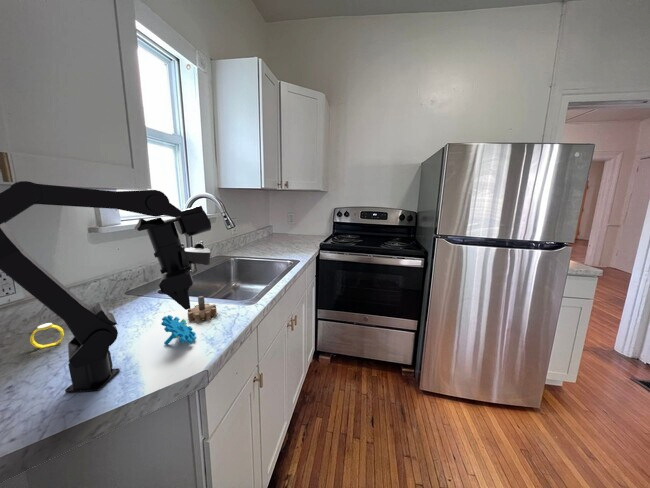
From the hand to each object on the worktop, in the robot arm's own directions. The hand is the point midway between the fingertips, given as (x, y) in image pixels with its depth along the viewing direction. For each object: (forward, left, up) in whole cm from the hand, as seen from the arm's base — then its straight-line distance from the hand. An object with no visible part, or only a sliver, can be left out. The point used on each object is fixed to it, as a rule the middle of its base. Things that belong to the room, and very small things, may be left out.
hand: (187, 301), depth 67 cm
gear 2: (+17, +4, -12) cm, 21 cm away
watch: (+3, +38, -12) cm, 40 cm away
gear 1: (+2, +4, -12) cm, 13 cm away
